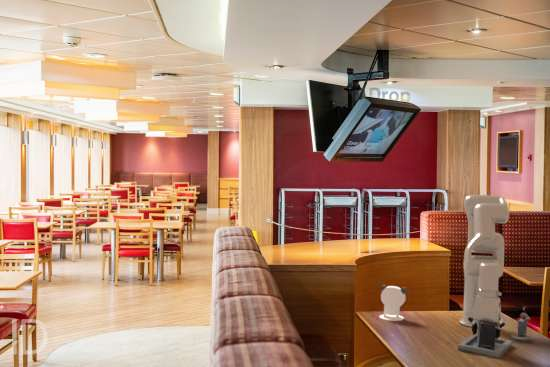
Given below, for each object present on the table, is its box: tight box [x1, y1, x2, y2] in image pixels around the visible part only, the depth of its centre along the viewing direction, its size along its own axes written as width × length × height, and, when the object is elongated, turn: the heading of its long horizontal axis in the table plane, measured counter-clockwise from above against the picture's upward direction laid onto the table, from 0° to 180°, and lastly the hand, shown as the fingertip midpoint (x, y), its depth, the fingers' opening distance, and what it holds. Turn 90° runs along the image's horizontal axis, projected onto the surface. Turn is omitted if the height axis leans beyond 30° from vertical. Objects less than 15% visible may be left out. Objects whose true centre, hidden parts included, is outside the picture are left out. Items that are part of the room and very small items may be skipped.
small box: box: [477, 321, 497, 350], centre depth 267 cm, size 11×6×10 cm, turn 166°
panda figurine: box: [379, 284, 408, 322], centre depth 310 cm, size 12×11×15 cm
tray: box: [457, 333, 513, 359], centre depth 267 cm, size 20×16×2 cm
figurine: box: [510, 312, 533, 344], centre depth 280 cm, size 8×8×12 cm
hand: (485, 335), depth 267 cm, fingers open, 8 cm apart
